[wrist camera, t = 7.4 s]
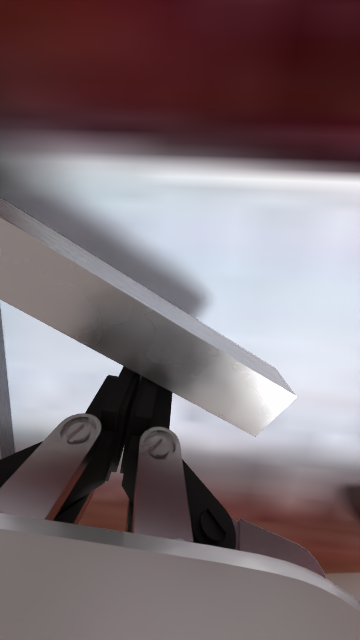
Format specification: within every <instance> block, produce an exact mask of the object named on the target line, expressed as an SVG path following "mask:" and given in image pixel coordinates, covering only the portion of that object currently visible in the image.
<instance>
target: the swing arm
mask: <svg viewBox="0 0 360 640" xmlns="http://www.w3.org/2000/svg"><path fill="white" fill-rule="evenodd" d="M0 299H1V300H2V301H4V302H6V303H8V304H10V305H12V306H14V307H15V308H17V309H19V310H21V311H23V312H25V313H27V314H28V315H30V316H32V317H34V318H36V319H38V320H40V321H41V322H43V323H45V324H47V325H49V326H51V327H53V328H54V329H56V330H58V331H60V332H62V333H64V334H65V335H67V336H69V337H71V338H73V339H75V340H77V341H78V342H80V343H82V344H84V345H86V346H88V347H90V348H91V349H93V350H95V351H97V352H99V353H101V354H103V355H104V356H106V357H108V358H110V359H112V360H114V361H116V362H117V363H119V364H121V365H123V366H125V367H127V368H129V369H130V370H132V371H134V372H136V373H138V374H140V375H141V376H143V377H145V378H147V379H149V380H151V381H153V382H154V383H156V384H158V385H160V386H162V387H164V388H166V389H167V390H169V391H171V392H173V393H175V394H177V395H179V396H180V397H182V398H184V399H186V400H188V401H190V402H192V403H193V404H195V405H197V406H199V407H201V408H203V409H205V410H206V411H208V412H210V413H212V414H214V415H216V416H217V417H219V418H221V419H223V420H225V421H227V422H229V423H230V424H232V425H234V426H236V427H238V428H240V429H242V430H243V431H245V432H247V433H249V434H251V435H253V436H255V437H256V436H257V435H258V434H259V433H260V432H261V431H262V430H263V429H264V428H265V427H266V426H267V425H268V424H269V423H270V422H271V421H272V420H273V419H274V418H275V417H276V416H277V415H278V414H279V413H281V412H282V411H283V410H284V409H285V408H286V407H287V406H288V405H289V404H290V403H291V402H292V401H293V400H294V399H295V398H296V397H297V396H296V395H295V394H294V392H293V391H292V390H291V388H290V387H289V386H288V384H287V383H286V382H285V380H284V379H283V378H282V376H281V375H280V374H279V372H278V371H277V369H276V368H274V367H273V366H271V365H269V364H268V363H266V362H265V361H263V360H261V359H260V358H258V357H257V356H255V355H253V354H252V353H250V352H249V351H247V350H245V349H244V348H242V347H240V346H239V345H237V344H236V343H234V342H232V341H231V340H229V339H228V338H226V337H224V336H223V335H221V334H220V333H218V332H216V331H215V330H213V329H211V328H210V327H208V326H207V325H205V324H203V323H202V322H200V321H199V320H197V319H195V318H194V317H192V316H191V315H189V314H187V313H186V312H184V311H183V310H181V309H179V308H178V307H176V306H174V305H173V304H171V303H170V302H168V301H166V300H165V299H163V298H162V297H160V296H158V295H157V294H155V293H154V292H152V291H150V290H149V289H147V288H145V287H144V286H142V285H141V284H139V283H137V282H136V281H134V280H133V279H131V278H129V277H128V276H126V275H125V274H123V273H121V272H120V271H118V270H116V269H115V268H113V267H112V266H110V265H108V264H107V263H105V262H104V261H102V260H100V259H99V258H97V257H96V256H94V255H92V254H91V253H89V252H87V251H86V250H84V249H83V248H81V247H79V246H78V245H76V244H75V243H73V242H71V241H70V240H68V239H67V238H65V237H63V236H62V235H60V234H59V233H57V232H55V231H54V230H52V229H50V228H49V227H47V226H46V225H44V224H42V223H41V222H39V221H38V220H36V219H34V218H33V217H31V216H30V215H28V214H26V213H25V212H23V211H21V210H20V209H18V208H17V207H15V206H13V205H12V204H10V203H9V202H7V201H5V200H4V199H2V198H1V197H0Z"/></svg>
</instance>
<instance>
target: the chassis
mask: <svg viewBox="0 0 360 640" xmlns="http://www.w3.org/2000/svg"><path fill="white" fill-rule="evenodd" d="M14 453H15V451H14V441H13V431H12V421H11V411H10V401H9V391H8V381H7V371H6V361H5V351H4V341H3V330H2V320H1V310H0V459H3V458H5V457H7V456H10V455H12V454H14Z"/></svg>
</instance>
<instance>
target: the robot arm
mask: <svg viewBox="0 0 360 640" xmlns="http://www.w3.org/2000/svg"><path fill="white" fill-rule="evenodd" d="M171 402H172V392H171V391H169V390H167V389H166V388H164V387H162V386H160V385H158V384H156V383H154V382H153V381H151V380H149V379H147V378H145V377H143V376H141V375H140V374H138V373H136V372H134V371H132V370H130V369H129V368H127V367H125V366H124V367H123V369H122V371H121V373H120V375H119V377H117V376H112V375H108V376H107V377H106V379H105V381H104V382H103V384H102V386H101V387H100V389H99V391H98V392H97V394H96V396H95V398H94V399H93V401H92V403H91V404H90V406H89V408H88V409H87V411H86V413H83V414H76V415H72V416H70V417H68V418H66V419H65V420H64V421H62V422H61V423H60V424H59V425H58V426H57V427H56V428H55V429H54V430H53V432H52V433H51V434H50V435H49V436H48V437H47V438H46V439H45V440H44V441H42V442H40V443H38V444H35V445H33V446H31V447H28V448H26V449H24V450H21V451H19V452H17V453H14V454H12V455H10V456H7V457H5V458H3V459H0V640H360V601H358V600H357V599H356V598H355V597H353V596H352V595H350V594H349V593H348V592H346V591H345V590H343V589H342V588H340V587H339V586H337V585H336V584H334V583H333V582H331V581H329V580H328V579H326V577H325V574H324V572H323V570H322V568H321V567H320V565H319V564H318V562H317V560H316V559H315V558H314V557H313V556H312V555H311V554H310V553H309V552H308V551H307V550H306V549H305V548H303V547H302V546H300V545H298V544H296V543H294V542H292V541H290V540H287V539H285V538H283V537H281V536H278V535H276V534H274V533H272V532H269V531H267V530H265V529H263V528H260V527H258V526H256V525H254V524H252V523H249V522H247V521H245V520H243V519H239V521H236V520H234V519H232V518H231V517H230V516H229V514H228V513H227V511H226V510H225V508H224V507H223V506H222V505H221V504H220V503H219V501H218V500H217V499H216V498H215V497H214V496H213V494H212V493H211V492H210V491H209V490H208V489H207V487H206V486H205V485H204V484H203V483H202V482H201V480H200V479H199V478H198V477H197V476H196V475H195V473H194V472H193V471H192V470H191V469H190V468H189V466H188V465H187V464H186V463H185V462H184V461H183V459H182V455H181V448H180V443H179V439H178V438H177V436H176V435H175V434H174V433H173V432H172V431H171V430H169V426H170V414H171ZM124 445H125V446H124ZM123 448H124V452H123ZM122 452H123V458H122V464H121V471H120V473H124V475H123V481H122V487H123V489H124V490H125V492H126V494H127V496H128V497H129V499H128V507H127V518H126V529H125V532H122V531H116V530H109V529H103V528H96V527H90V526H83V525H78V524H79V522H80V520H81V518H82V516H83V514H84V512H85V510H86V508H87V506H88V504H89V502H90V500H91V498H92V496H93V493H94V490H95V489H96V488H97V487H99V486H100V485H102V484H103V483H105V481H108V480H109V477H110V474H111V471H112V472H116V471H117V468H118V465H119V462H120V458H121V455H122Z"/></svg>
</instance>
